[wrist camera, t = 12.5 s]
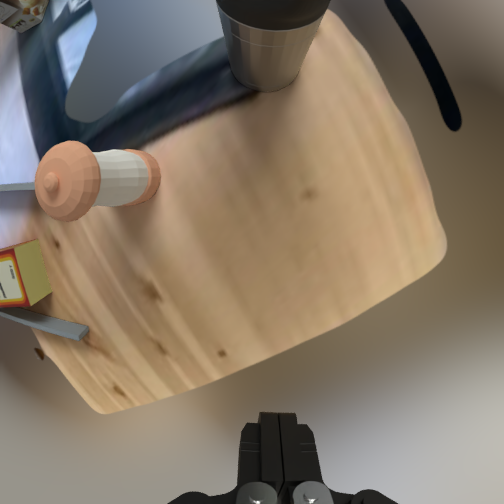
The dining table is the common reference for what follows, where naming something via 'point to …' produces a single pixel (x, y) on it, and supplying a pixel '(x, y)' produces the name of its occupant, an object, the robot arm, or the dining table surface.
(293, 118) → the dining table surface
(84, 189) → the pepper shaker
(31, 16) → the coffee box
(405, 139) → the dining table surface
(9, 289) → the baking soda box
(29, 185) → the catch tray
